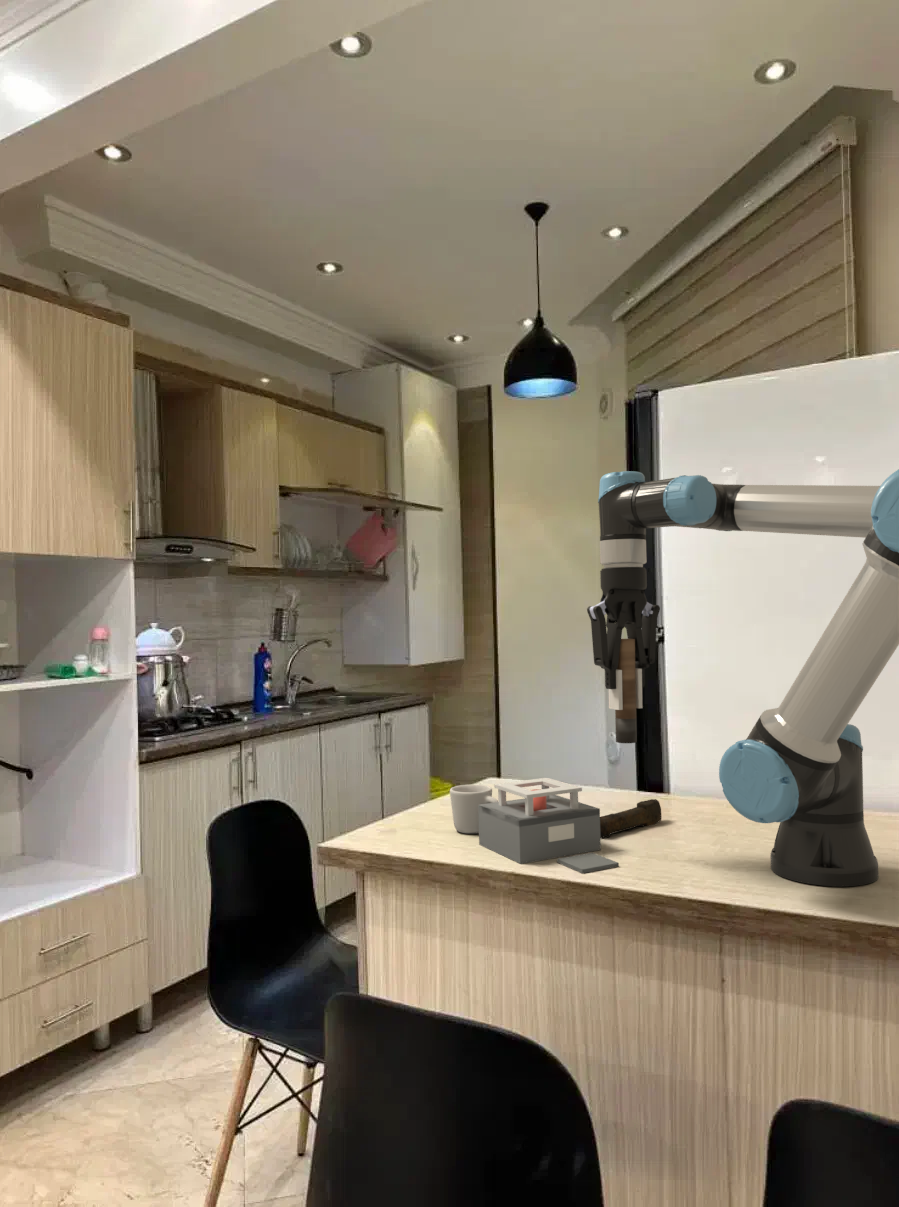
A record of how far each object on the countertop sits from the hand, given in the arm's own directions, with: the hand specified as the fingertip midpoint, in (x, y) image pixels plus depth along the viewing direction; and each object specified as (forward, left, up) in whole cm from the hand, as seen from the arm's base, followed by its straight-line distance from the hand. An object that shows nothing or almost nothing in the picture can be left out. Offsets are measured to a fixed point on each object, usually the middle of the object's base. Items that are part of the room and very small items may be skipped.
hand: (625, 707), depth 145 cm
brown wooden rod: (0, 0, -6) cm, 6 cm away
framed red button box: (+13, +9, -25) cm, 29 cm away
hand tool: (+16, -12, -25) cm, 32 cm away
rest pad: (0, +8, -25) cm, 26 cm away
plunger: (+13, +9, -22) cm, 27 cm away
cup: (+28, +13, -25) cm, 40 cm away
